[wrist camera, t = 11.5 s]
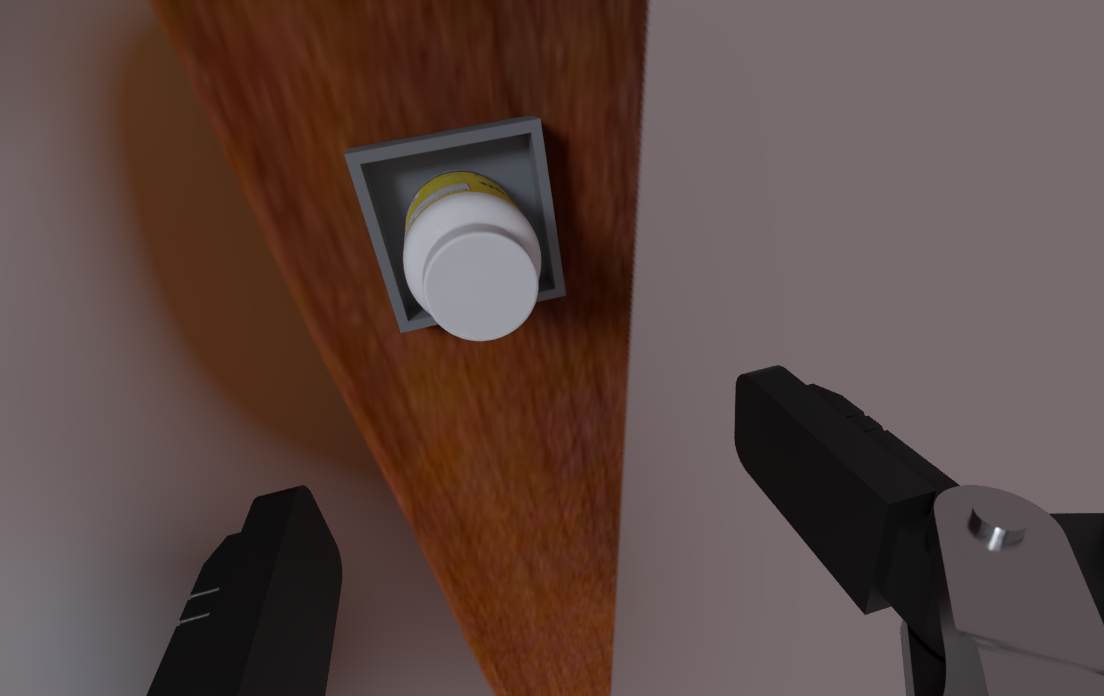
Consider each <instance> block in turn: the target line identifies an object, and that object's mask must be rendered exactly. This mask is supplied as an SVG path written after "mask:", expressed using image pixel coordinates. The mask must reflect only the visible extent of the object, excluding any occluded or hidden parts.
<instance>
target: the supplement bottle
mask: <svg viewBox="0 0 1104 696" xmlns="http://www.w3.org/2000/svg"><path fill="white" fill-rule="evenodd" d="M403 265H404V273H405V277H406V280H407V284H408V286H409V288H410V291H411V292H412V294H413V296H414V297H415V299H416V300H417V302H418V303H419V304H420V305H421V306H422V307H423V308H424V309H425V310H426V311H427V312H428V313H429V314H431V315H432V317H433V318H434V320H435V321H436V322H437V323H438V324H439V325H440V326H441V327H442V328H444V329H445V330H446V331H448V332H449V333H451V334H453V335H455V336H457V337H460V338H463V339H467V340H473V341H488V340H493V339H497V338H500V337H503V336H505V335H507V334H509V333H511V332H512V331H514V330H515V329H517V328H518V327H519V326H520V325H521V324H522V323H523V322H524V321H525V320H526V319H527V318H528V316H529V315H530V313H531V312H532V310H533V308H534V305H535V303H536V300H537V296H538V288H539V284H538V281H539V277H540V271H541V252H540V246H539V242H538V239H537V237H536V234H535V232H534V230H533V228H532V226H531V225H530V223H529V222H528V220H527V219H526V217H525V216H524V215H523V214H522V212H521V211H520V210H519V208H518V207H517V206H516V205H515V203H514V202H513V201H512V200H511V199H510V197H509V196H508V195H507V194H506V192H505V191H504V190H503V189H502V188H501V187H500V186H499V185H498V184H497V183H496V182H494V181H493V180H491V179H490V178H488V177H486V176H485V175H482V174H480V173H477V172H473V171H469V170H452V171H447V172H443V173H440V174H438V175H436V176H434V177H432V178H431V179H429V180H428V181H426V182H425V183H424V184H423V185H422V186H421V187H420V188H419V189H418V190H417V192H416V193H415V195H414V196H413V198H412V200H411V202H410V205H409V208H408V211H407V216H406V225H405V239H404V250H403Z"/></svg>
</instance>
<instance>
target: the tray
mask: <svg viewBox="0 0 1104 696" xmlns="http://www.w3.org/2000/svg"><path fill="white" fill-rule="evenodd" d="M344 155H345V158H346V161H347V164H348V168H349V171H350V174H351V177H352V180H353V183H354V187H355V190H356V193H357V196H358V199H359V202H360V205H361V209H362V212H363V215H364V218H365V221H366V224H367V228H368V231H369V234H370V237H371V240H372V243H373V247H374V250H375V253H376V256H377V259H378V262H379V265H380V269H381V272H382V275H383V278H384V281H385V284H386V288H387V291H388V294H389V297H390V300H391V303H392V307H393V310H394V313H395V316H396V319H397V322H398V325H399V329H400V332H401V333H403V332H407V331H411V330H416V329H420V328H425V327H429V326H433V325H438V323H437V322H436V321H435V320H434V318H433V317H432V315H431V314H429V313H428V312H427V311H426V310H425V309H424V308H423V307H422V306H421V305H420V304H419V303H418V302H417V300H416V299H415V297H414V296H413V294H412V292H411V291H410V288H409V286H408V284H407V280H406V277H405V273H404V265H403V250H404V239H405V225H406V216H407V211H408V208H409V205H410V202H411V200H412V198H413V196H414V195H415V193H416V192H417V190H418V189H419V188H420V187H421V186H422V185H423V184H424V183H425V182H426V181H428V180H429V179H431V178H432V177H434V176H436V175H438V174H440V173H443V172H447V171H452V170H469V171H473V172H477V173H480V174H482V175H485V176H486V177H488V178H490V179H491V180H493V181H494V182H496V183H497V184H498V185H499V186H500V187H501V188H502V189H503V190H504V191H505V192H506V194H507V195H508V196H509V197H510V199H511V200H512V201H513V202H514V203H515V205H516V206H517V207H518V208H519V210H520V211H521V212H522V214H523V215H524V216H525V217H526V219H527V220H528V222H529V223H530V225H531V226H532V228H533V230H534V232H535V234H536V237H537V239H538V242H539V246H540V252H541V271H540V277H539V281H538V284H539V288H538V296H537V300H536V302H540V301H544V300H549V299H553V298H557V297H562V296H566V291H565V284H564V277H563V270H562V263H561V257H560V250H559V243H558V236H557V229H556V222H555V215H554V208H553V202H552V195H551V188H550V181H549V174H548V167H547V160H546V154H545V147H544V140H543V133H542V126H541V119H540V118H537V117H534V116H532V115H529V116H523V117H518V118H512V119H507V120H501V121H496V122H490V123H485V124H479V125H474V126H468V127H463V128H457V129H452V130H446V131H440V132H435V133H429V134H424V135H418V136H413V137H407V138H402V139H396V140H391V141H385V142H380V143H374V144H369V145H363V146H358V147H352V148H350V149H349V150H348V151H347V152H346V153H345V154H344Z"/></svg>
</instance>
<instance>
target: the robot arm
mask: <svg viewBox="0 0 1104 696" xmlns="http://www.w3.org/2000/svg"><path fill="white" fill-rule="evenodd" d="M735 399H736V400H735V436H734V437H735V446H736V450H737V454H738V457H739V459H740V461H741V463H742V465H743V467H744V468H745V470H746V471H747V472H748V474H749V475H750V476H751V477H752V478H753V480H754V481H755V482H756V483H757V484H758V486H759V487H760V488H761V489H762V491H763V492H764V493H765V494H766V495H767V497H768V498H769V499H770V500H771V501H772V503H773V504H774V505H775V506H776V508H777V509H778V510H779V511H780V512H781V514H782V515H783V516H784V517H785V518H786V520H787V521H788V522H789V523H790V525H791V526H792V527H793V528H794V529H795V531H796V532H797V533H798V534H799V536H800V537H801V538H802V539H803V540H804V542H805V543H806V544H807V545H808V546H809V548H810V549H811V550H812V551H813V552H814V553H815V555H816V556H817V557H818V559H819V560H820V561H821V562H822V563H823V565H824V566H825V567H826V568H827V569H828V571H829V572H830V573H831V574H832V575H833V577H834V578H835V579H836V580H837V582H838V583H839V584H840V585H841V587H842V588H843V589H844V590H845V591H846V593H847V594H848V595H849V596H850V597H851V599H852V600H853V601H854V602H855V604H856V605H857V606H858V607H859V608H860V610H861V611H862V612H863V613H864V614H865V615H866V614H869V613H872V612H875V611H878V610H881V609H885V608H888V607H890V606H892V607H893V608H894V610H895V611H896V612H897V613H898V614H899V615H900V616H901V618H902V619H903V621H902V625H901V631H900V635H901V645H902V656H903V666H904V677H905V687H906V696H1104V513H1078V514H1077V513H1075V514H1073V513H1071V514H1068V513H1067V514H1066V513H1065V514H1048V513H1047V512H1045V511H1044V510H1042V509H1041V508H1040V507H1038V506H1037V505H1035V504H1033V503H1031V502H1030V501H1028V500H1026V499H1024V498H1021V497H1020V496H1017V495H1015V494H1012V493H1009V492H1006V491H1003V490H1000V489H996V488H990V487H985V486H977V485H976V486H975V485H965V486H960V485H959V484H957V483H956V482H955V481H953V480H952V479H951V478H949V477H948V476H947V475H945V474H944V473H943V472H941V471H940V470H939V469H938V468H936V467H935V466H934V465H932V464H931V463H930V462H928V461H927V460H926V459H924V458H923V457H922V456H921V455H919V454H918V453H917V452H915V451H914V450H913V449H911V448H910V447H909V446H907V445H906V444H905V443H903V442H902V441H901V440H900V439H898V438H897V437H896V436H894V435H893V434H892V433H890V432H889V431H888V430H886V431H884V430H883V428H882V426H881V425H880V424H879V423H877V422H876V421H875V420H873V419H872V418H871V417H869V416H865V415H864V412H863V411H862V410H860V409H859V408H858V407H856V406H855V405H854V404H852V403H851V402H850V401H848V400H847V399H846V398H844V397H843V396H842V395H840V394H837V393H835V392H832V391H830V390H827V389H825V388H822V387H820V386H817V385H815V384H810V385H805V384H804V383H803V382H802V381H800V380H799V379H798V378H797V377H796V376H794V375H793V374H792V373H790V372H789V371H788V370H787V369H786V368H784V367H782V366H779V365H777V366H772V367H769V368H765V369H761V370H757V371H753V372H749V373H745V374H741V375H740V376H739V377H738V378H737V381H736V395H735ZM341 585H342V564H341V557H340V554H339V550H338V547H337V544H336V542H335V540H334V538H333V536H332V534H331V532H330V530H329V528H328V526H327V524H326V522H325V520H324V518H323V516H322V514H321V512H320V509H319V507H318V505H317V503H316V501H315V499H314V497H313V495H312V493H311V491H310V490H309V489H308V488H307V487H306V486H304V485H301V486H297V487H294V488H289V489H285V490H282V491H278V492H274V493H270V494H266V495H262V496H258V497H257V498H255V499H254V501H253V503H252V505H251V508H250V510H249V513H248V515H247V518H246V520H245V523H244V526H243V528H242V531H241V532H240V533H236V534H232V535H229V536H227V537H226V538H225V539H224V541H223V542H222V543H221V544H220V546H219V547H218V548H217V549H216V550H215V551H214V552H213V554H212V555H211V556H210V557H209V559H208V560H207V561H206V562H205V563H204V565H203V567H202V569H201V571H200V574H199V576H198V578H197V581H196V583H195V585H194V587H193V590H192V592H191V600H188V601H187V604H186V606H185V608H184V611H183V613H182V615H181V617H180V626H177V627H176V629H175V631H174V633H173V636H172V638H171V640H170V643H169V645H168V647H167V649H166V652H165V654H164V657H163V659H162V661H161V663H160V666H159V668H158V670H157V672H156V675H155V677H154V679H153V682H152V684H151V686H150V688H149V691H148V694H147V696H325V692H326V686H327V679H328V673H329V666H330V658H331V652H332V646H333V639H334V632H335V626H336V618H337V611H338V605H339V599H340V598H339V597H340V592H341Z"/></svg>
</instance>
